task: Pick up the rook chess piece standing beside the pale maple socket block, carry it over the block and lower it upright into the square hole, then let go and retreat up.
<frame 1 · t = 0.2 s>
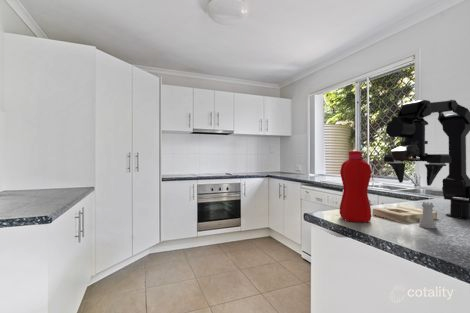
hand: (414, 183, 81), 14 cm above the counter, fingers open, 9 cm apart
socket block: (403, 216, 91), on the counter
rook chess piece: (427, 227, 78), on the counter
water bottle: (357, 220, 86), on the counter
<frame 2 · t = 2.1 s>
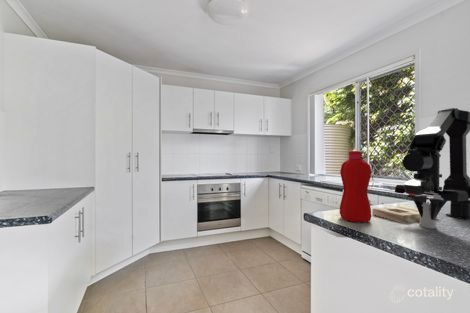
hand: (427, 218, 78), 3 cm above the counter, fingers closed on rook chess piece, 3 cm apart
rook chess piece: (427, 227, 78), on the counter, touching gripper
everything else where it was.
when the fingers open (4 cm above the counter, at t = 5.9 s): rook chess piece stays where it is, resting in socket block.
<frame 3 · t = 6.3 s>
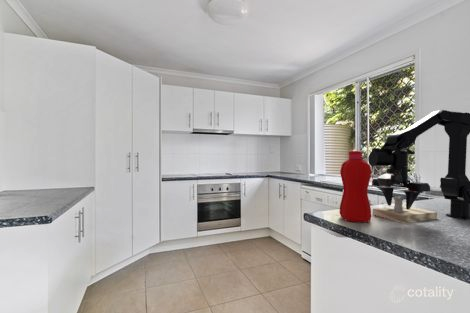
hand: (398, 207, 90), 4 cm above the counter, fingers open, 7 cm apart
rook chess piece: (398, 218, 90), resting in socket block
everything else where it was.
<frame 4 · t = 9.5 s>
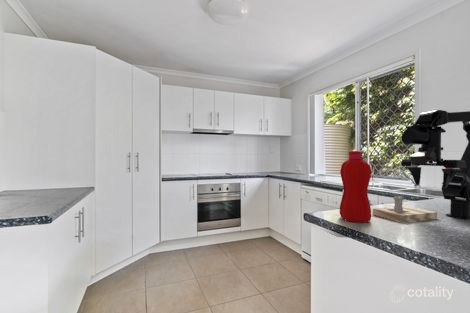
hand: (430, 186, 89), 12 cm above the counter, fingers open, 9 cm apart
nothing on the counter moved.
at the end: rook chess piece 0.0 cm from the target spot on the socket block, point 0.0 cm above the socket block's base; rook chess piece tilted 0° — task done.
